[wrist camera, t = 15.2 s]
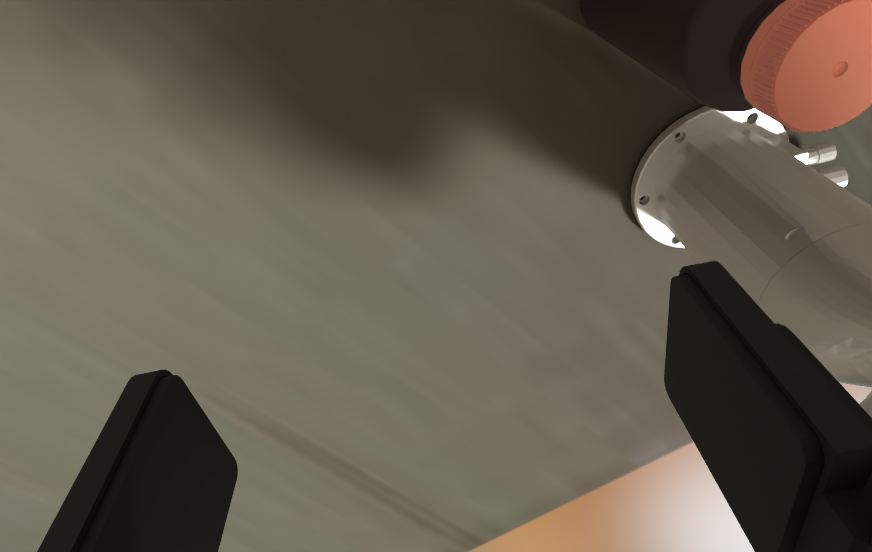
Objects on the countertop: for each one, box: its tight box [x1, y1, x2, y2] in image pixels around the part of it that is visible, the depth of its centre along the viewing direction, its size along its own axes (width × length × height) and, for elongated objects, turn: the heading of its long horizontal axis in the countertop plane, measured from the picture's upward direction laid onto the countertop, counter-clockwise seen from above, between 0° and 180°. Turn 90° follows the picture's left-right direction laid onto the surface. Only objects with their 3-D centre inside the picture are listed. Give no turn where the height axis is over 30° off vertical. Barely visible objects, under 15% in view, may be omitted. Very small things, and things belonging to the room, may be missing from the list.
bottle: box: [580, 0, 872, 133], centre depth 28 cm, size 7×7×20 cm
